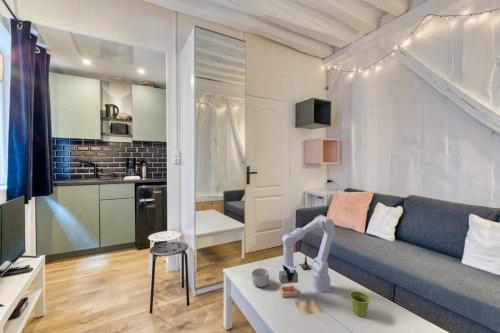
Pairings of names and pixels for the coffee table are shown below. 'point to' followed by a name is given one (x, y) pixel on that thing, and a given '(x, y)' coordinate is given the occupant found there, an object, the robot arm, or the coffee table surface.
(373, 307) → the coffee table surface
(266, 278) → the teacup
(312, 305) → the wooden board
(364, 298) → the plant pot
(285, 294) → the peach slab
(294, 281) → the gray rectangular block
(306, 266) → the eiffel tower figurine
